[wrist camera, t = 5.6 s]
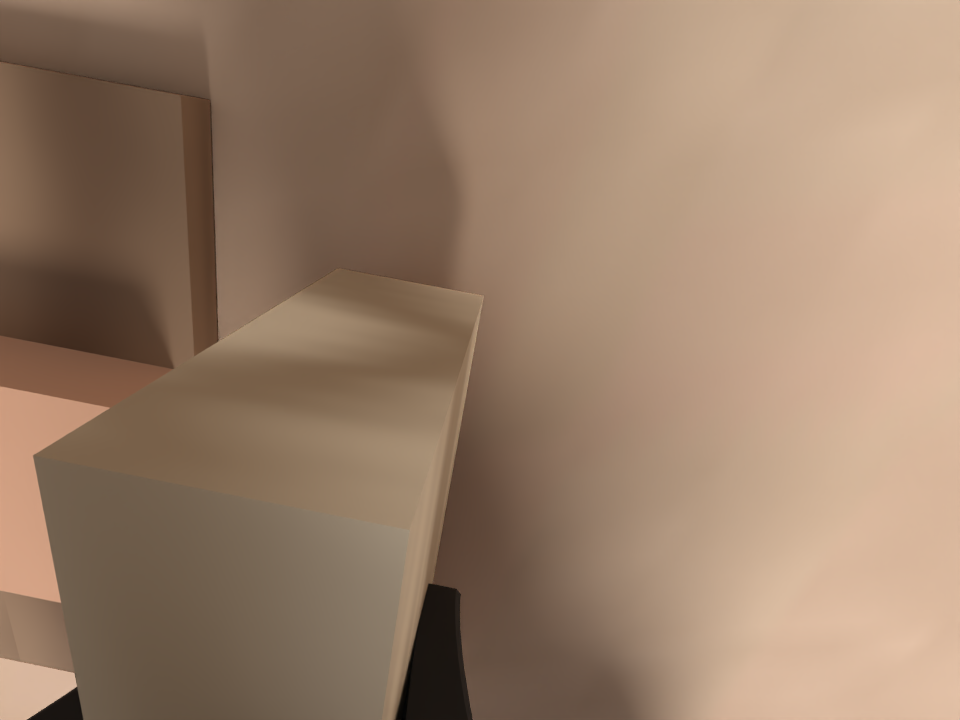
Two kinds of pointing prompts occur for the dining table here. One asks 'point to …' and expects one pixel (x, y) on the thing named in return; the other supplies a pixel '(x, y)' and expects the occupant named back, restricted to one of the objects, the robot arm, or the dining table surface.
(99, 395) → the peach rectangular block
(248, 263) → the dining table surface
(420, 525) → the tall cream pillar
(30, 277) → the brown wooden board
